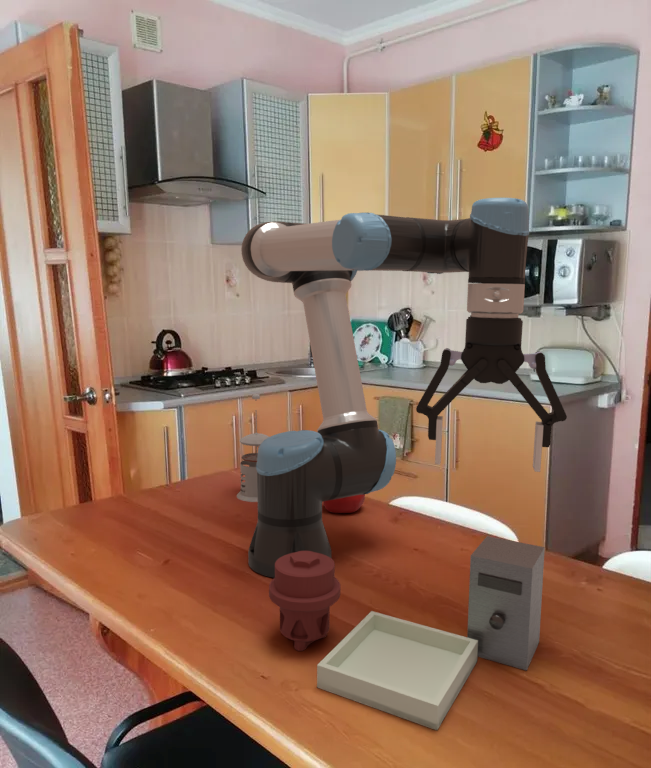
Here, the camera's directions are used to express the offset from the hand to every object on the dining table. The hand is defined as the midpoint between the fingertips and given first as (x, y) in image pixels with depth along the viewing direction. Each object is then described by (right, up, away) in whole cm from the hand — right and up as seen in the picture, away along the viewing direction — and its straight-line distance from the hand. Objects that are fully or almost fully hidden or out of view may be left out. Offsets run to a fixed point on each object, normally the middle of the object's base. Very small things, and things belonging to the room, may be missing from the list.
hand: (486, 465), depth 90 cm
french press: (-39, -15, +64) cm, 77 cm away
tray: (-13, -26, -9) cm, 30 cm away
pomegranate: (-19, -17, +54) cm, 60 cm away
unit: (+2, -25, -2) cm, 25 cm away
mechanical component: (-26, -25, 0) cm, 36 cm away
